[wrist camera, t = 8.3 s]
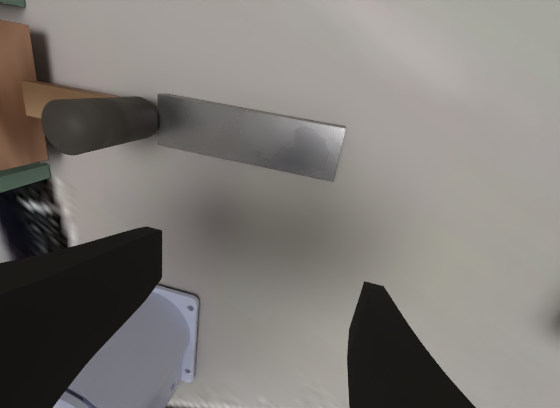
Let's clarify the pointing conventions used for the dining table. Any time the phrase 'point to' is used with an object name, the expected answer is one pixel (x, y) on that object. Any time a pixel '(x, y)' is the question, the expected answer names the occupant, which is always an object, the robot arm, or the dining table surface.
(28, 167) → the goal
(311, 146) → the rail
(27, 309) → the robot arm
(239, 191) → the dining table surface
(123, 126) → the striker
